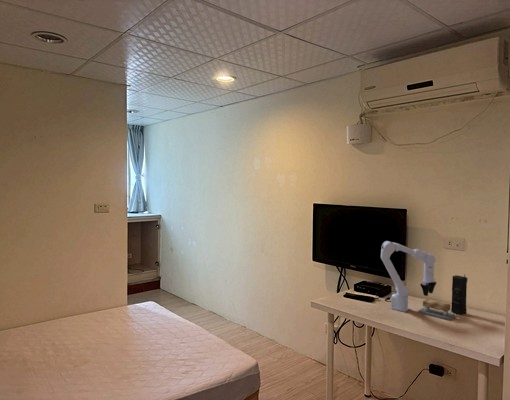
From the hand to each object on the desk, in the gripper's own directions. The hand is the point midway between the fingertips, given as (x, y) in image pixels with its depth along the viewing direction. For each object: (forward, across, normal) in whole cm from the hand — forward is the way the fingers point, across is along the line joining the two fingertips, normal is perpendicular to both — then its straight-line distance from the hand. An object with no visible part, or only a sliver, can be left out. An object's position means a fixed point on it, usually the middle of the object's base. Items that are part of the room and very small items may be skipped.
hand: (428, 294), depth 233 cm
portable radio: (+10, +10, -14) cm, 20 cm away
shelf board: (+6, -4, -6) cm, 10 cm away
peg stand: (+10, -4, -6) cm, 13 cm away
